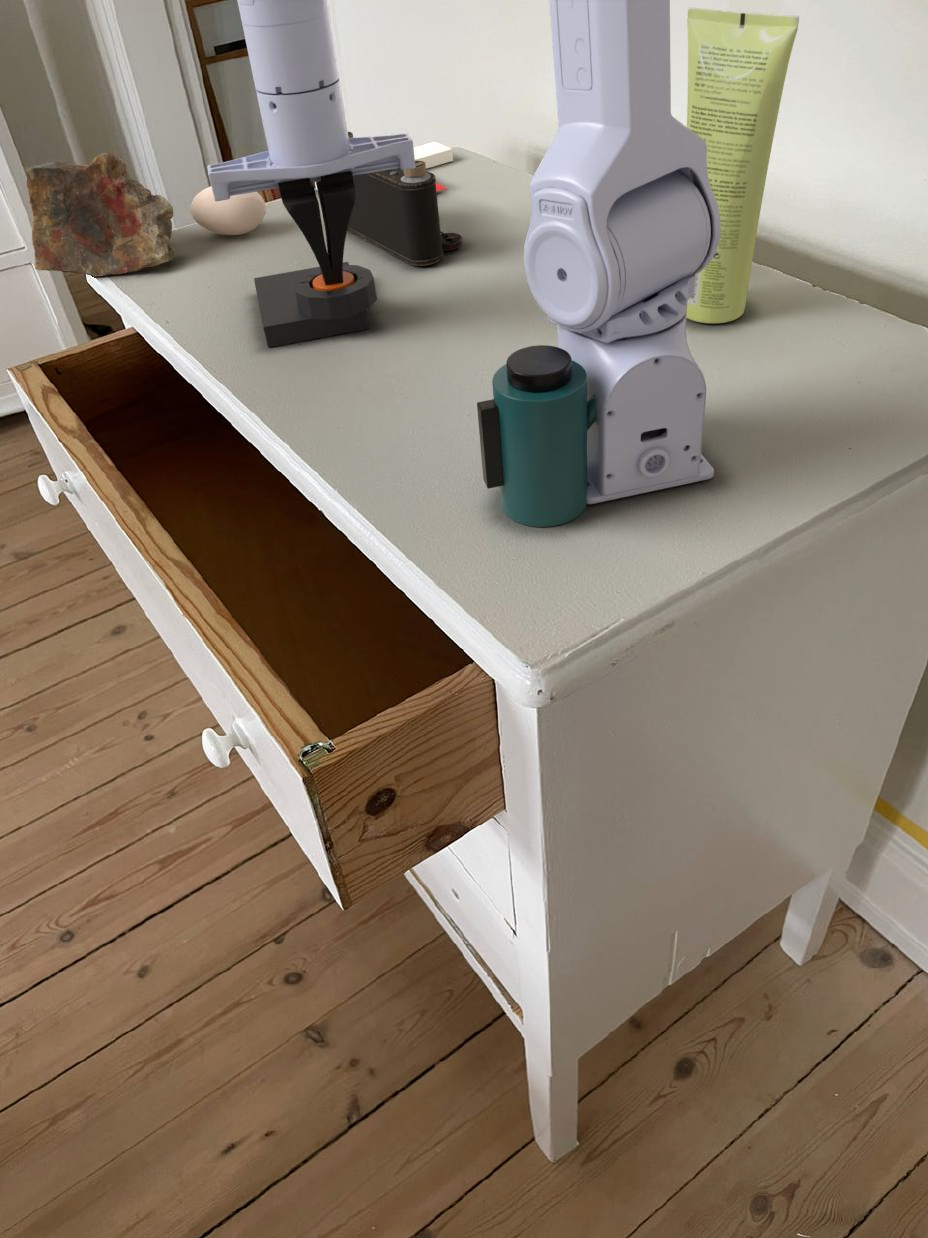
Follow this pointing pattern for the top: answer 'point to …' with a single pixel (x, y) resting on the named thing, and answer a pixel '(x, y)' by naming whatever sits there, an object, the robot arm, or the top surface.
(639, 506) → the top surface
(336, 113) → the robot arm
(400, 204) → the camera
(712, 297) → the tube
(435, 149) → the eraser
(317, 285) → the switch button
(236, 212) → the egg
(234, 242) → the top surface
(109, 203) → the rock
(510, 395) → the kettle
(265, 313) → the push button switch
